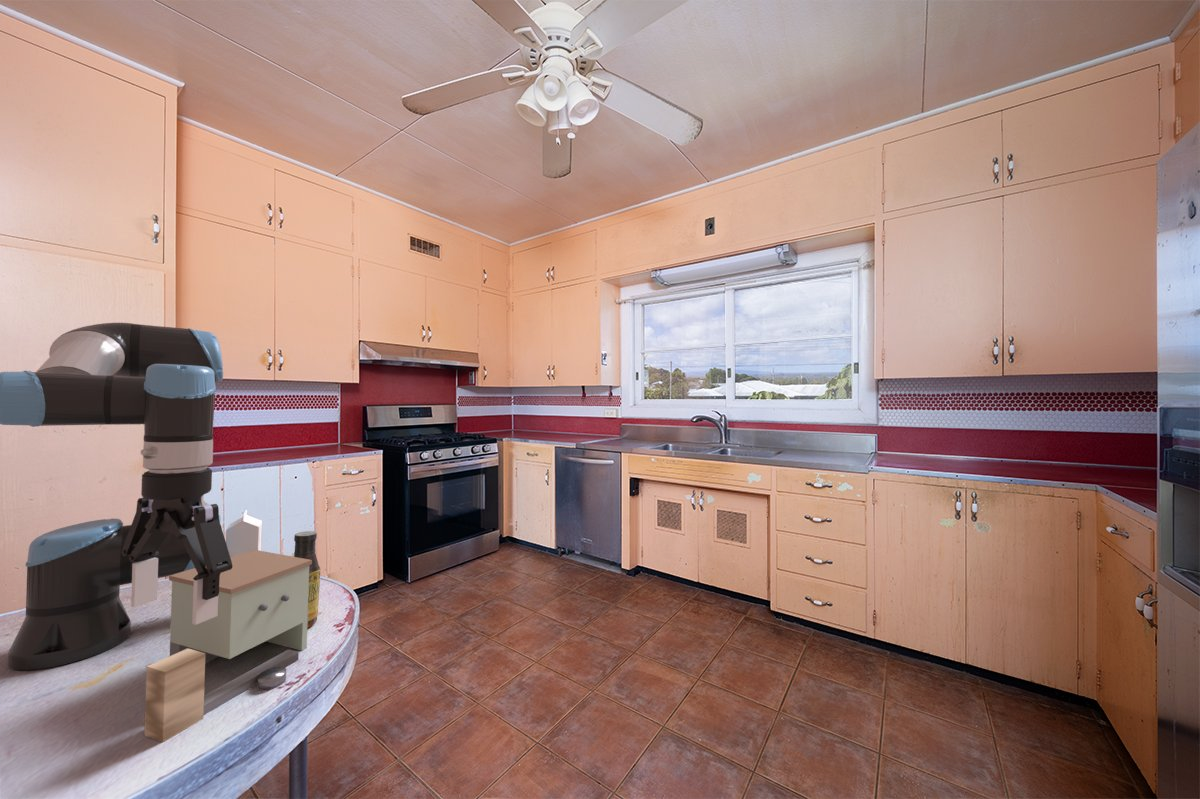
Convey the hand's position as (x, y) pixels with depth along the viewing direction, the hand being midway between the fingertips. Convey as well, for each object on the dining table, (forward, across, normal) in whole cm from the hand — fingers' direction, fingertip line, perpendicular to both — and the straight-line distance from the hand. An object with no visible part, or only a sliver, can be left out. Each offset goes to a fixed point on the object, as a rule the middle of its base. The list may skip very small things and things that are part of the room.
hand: (173, 611), depth 65 cm
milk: (+18, -31, +30) cm, 47 cm away
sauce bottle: (+18, -10, +28) cm, 35 cm away
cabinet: (+18, -8, +15) cm, 25 cm away
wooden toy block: (+17, 0, +8) cm, 19 cm away
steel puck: (+18, +4, +12) cm, 22 cm away
